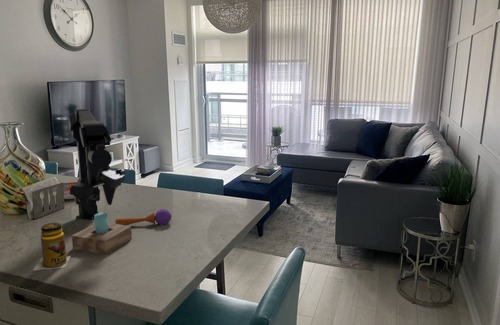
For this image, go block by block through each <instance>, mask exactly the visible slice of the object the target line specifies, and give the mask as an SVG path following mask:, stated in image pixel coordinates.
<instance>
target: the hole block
mask: <svg viewBox="0 0 500 325" xmlns="http://www.w3.org/2000/svg"><path fill="white" fill-rule="evenodd" d="M108 229H109V232H107V233H105V234H104V235H102V234H96V230H95V223H94V224H93V225H90V226H88V227H86V228H84V229H82V230H80V231H78V232H76V233H74V234H72V235H71V242H72V244H71V245H72V250H73V249H74V250H79V251H84V252H90V253H94V254H100V255H108V254H110V253H111V252H112V251H114V250H116V249H118V248H119V247H121V246H122V245H124V244H125V243H127V242H129V241H130V240H132V239H133V236H132V235H133V234H132V226H131V225H119V224H116V223H112V222H108Z"/></svg>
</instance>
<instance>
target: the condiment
mask: <svg viewBox="0 0 500 325" xmlns="http://www.w3.org/2000/svg"><path fill="white" fill-rule="evenodd" d="M40 230H41V235H40V241H41V242H40V243H41V250H42V257H41V258H39V261H38V262H37V264H36V265H35V267H34V268H33V269H32V271H40V270H41V271H42V270H54V269H55V270H56V269H63V268H66V266H67V264H68V263H69V260H70V259H71V255H69V256H67V251H66V240H65V233H64V232H63V229H62V224H61V223H60V222H50V223H46V224H44V225H42V226H41V228H40Z"/></svg>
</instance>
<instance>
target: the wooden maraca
mask: <svg viewBox="0 0 500 325" xmlns="http://www.w3.org/2000/svg"><path fill="white" fill-rule="evenodd" d="M171 220H172V214H171V212H170V210H168V209H165V208H162V209H159V210H157V211H156V212H152V213H150V214H149V215H147V216H146V217H129V218H127V217H125V218H123V217H122V218H121V217H119V218H115V221H114V222H115V224H119V225H126V226H130V225H132V224H137V223H140V222H147V223H150V224H151V223H152V224H156V223H157V224H158V225H161V226H165V225H167V224H169V223H170V221H171Z"/></svg>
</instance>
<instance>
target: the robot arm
mask: <svg viewBox="0 0 500 325" xmlns="http://www.w3.org/2000/svg"><path fill="white" fill-rule="evenodd" d="M68 129H69V131H70V132H71V135H72V137H73V138H74V139H75V141H76V146H77V147H76V148H77V159H78V160H77V161H78V162H77V163H78V172H79V176H78V180H77V181H76V183H75V184H73V185H70V186H69V188H68V189H69V196H73V197H74V203H75V205H77V206H78V215H77V216H76V218H77V219H83V220H91V219H93V218H94V215H95V214H98V213H99V211H98V204H97V202H100V200H101V190H100V188H99V187H101V186H102V189H103V193H104V196H105V197H104V198H105V200H106V202H107V205H108V206H111V205H112V204H113V199H114V197H115V196H114V195H115V194H116V189H118V188H119V186H122V184H123V183H124V181H125V180H126V174H125V173H126V172H125V169H123V168H119V169H117V170H111V166H110V165H111V163H112V160H113V158H112V155H111V153H110V152H109V150H108V149H107V148H106V146H110V145H111V142H112V138H111V134H110V131H109V129H108V128H107V126H106V125H105V124H104V122H102V121H100V120H96V118H95V116H94V115H93V113H92V109H89V108H79V109H78V108H77V109H75V111H74V113H73V114H72V115H70V116H69V118H68Z"/></svg>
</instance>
